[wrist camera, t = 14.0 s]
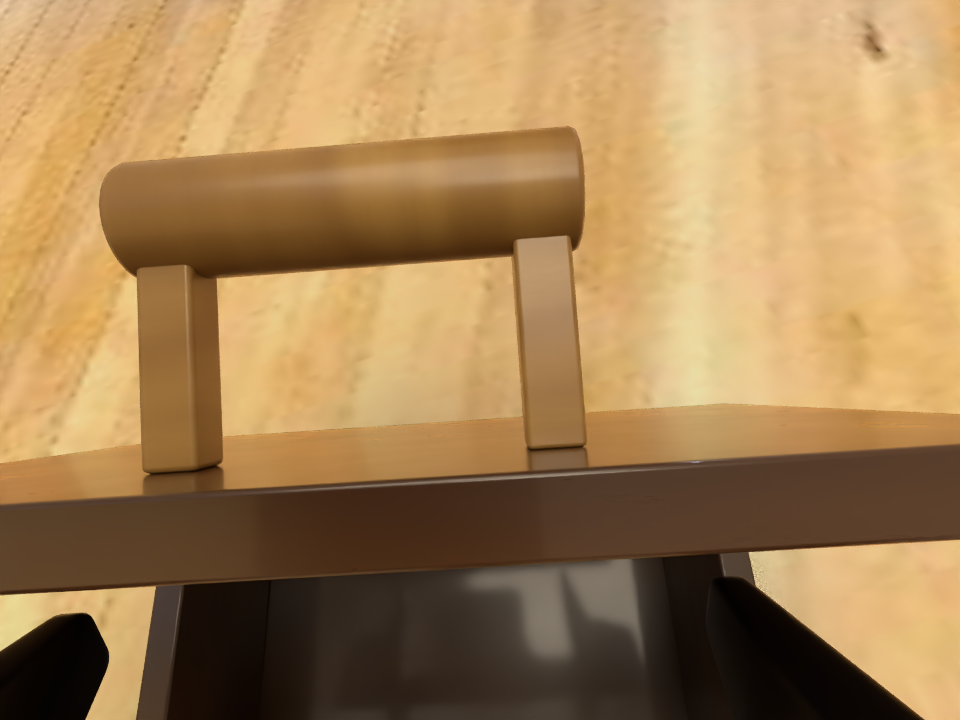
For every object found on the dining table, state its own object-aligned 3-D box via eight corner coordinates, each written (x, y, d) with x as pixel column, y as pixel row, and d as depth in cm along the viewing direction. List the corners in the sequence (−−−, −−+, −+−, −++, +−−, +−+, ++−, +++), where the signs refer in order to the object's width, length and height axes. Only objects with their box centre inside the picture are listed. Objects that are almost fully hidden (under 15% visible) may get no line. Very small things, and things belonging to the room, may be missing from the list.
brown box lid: (1262, 524, 4) (1176, -24, 5) (-540, 629, 5) (-515, 123, 5) (728, 432, 15) (711, 262, 15) (164, 468, 15) (160, 303, 16)
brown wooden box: (712, 752, 18) (813, 843, 12) (241, 775, 18) (110, 873, 12) (661, 464, 21) (721, 422, 15) (266, 489, 22) (173, 458, 16)
